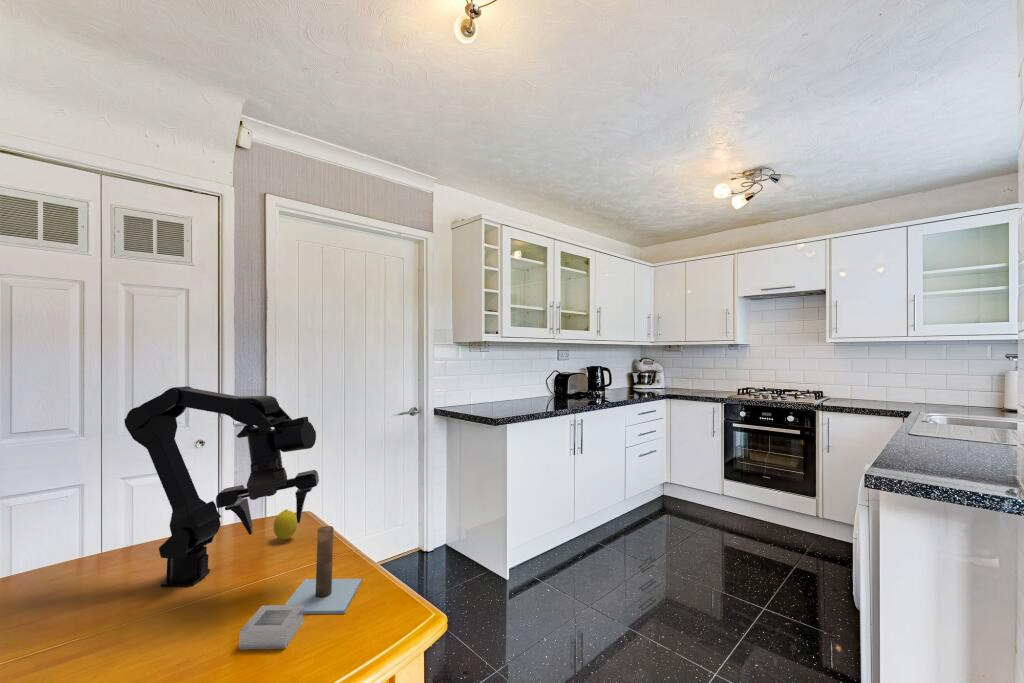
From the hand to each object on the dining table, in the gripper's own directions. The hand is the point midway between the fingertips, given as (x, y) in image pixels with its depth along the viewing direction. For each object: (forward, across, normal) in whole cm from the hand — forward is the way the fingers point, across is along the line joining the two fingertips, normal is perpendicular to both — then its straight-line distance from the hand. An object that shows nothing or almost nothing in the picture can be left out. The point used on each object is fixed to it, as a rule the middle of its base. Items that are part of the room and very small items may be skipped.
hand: (275, 528), depth 95 cm
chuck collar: (+13, +1, -18) cm, 22 cm away
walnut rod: (+13, +8, -7) cm, 17 cm away
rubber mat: (+14, +8, -7) cm, 18 cm away
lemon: (+10, -3, +25) cm, 27 cm away
